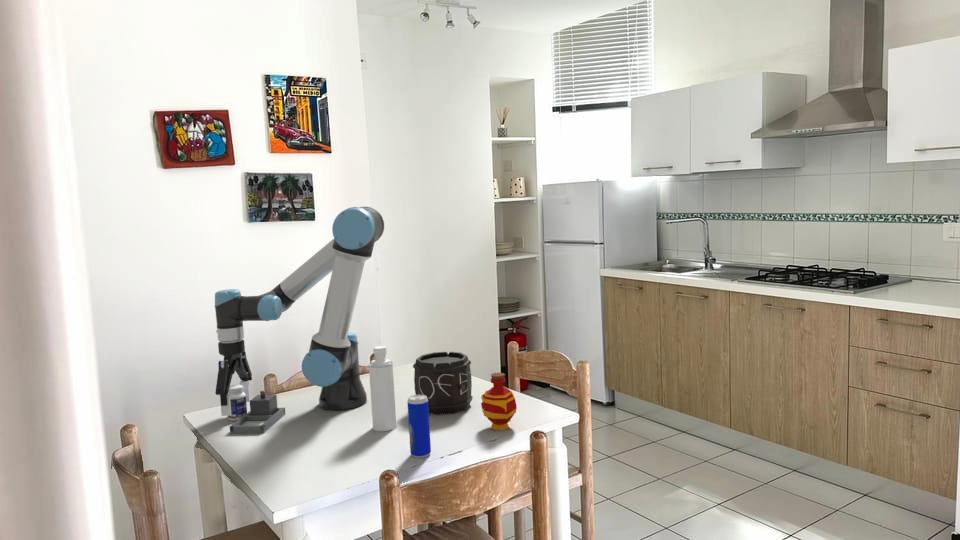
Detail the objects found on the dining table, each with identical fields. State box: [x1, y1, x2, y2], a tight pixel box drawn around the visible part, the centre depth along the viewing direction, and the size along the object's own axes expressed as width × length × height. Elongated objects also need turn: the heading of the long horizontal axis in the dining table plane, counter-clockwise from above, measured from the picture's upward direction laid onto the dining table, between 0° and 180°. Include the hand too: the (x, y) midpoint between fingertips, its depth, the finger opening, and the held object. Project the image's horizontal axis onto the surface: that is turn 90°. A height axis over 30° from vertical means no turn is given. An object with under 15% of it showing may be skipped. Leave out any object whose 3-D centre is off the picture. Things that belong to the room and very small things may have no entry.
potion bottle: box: [480, 372, 518, 431], centre depth 191 cm, size 10×10×15 cm
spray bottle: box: [368, 345, 397, 432], centre depth 195 cm, size 7×7×25 cm
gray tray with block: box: [229, 390, 286, 435], centre depth 204 cm, size 10×17×9 cm, turn 175°
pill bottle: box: [227, 384, 248, 422], centre depth 211 cm, size 6×6×10 cm
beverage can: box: [407, 394, 432, 459], centre depth 173 cm, size 5×5×15 cm
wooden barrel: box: [412, 351, 474, 416], centre depth 212 cm, size 18×18×16 cm
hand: (236, 408), depth 211 cm, fingers open, 13 cm apart
